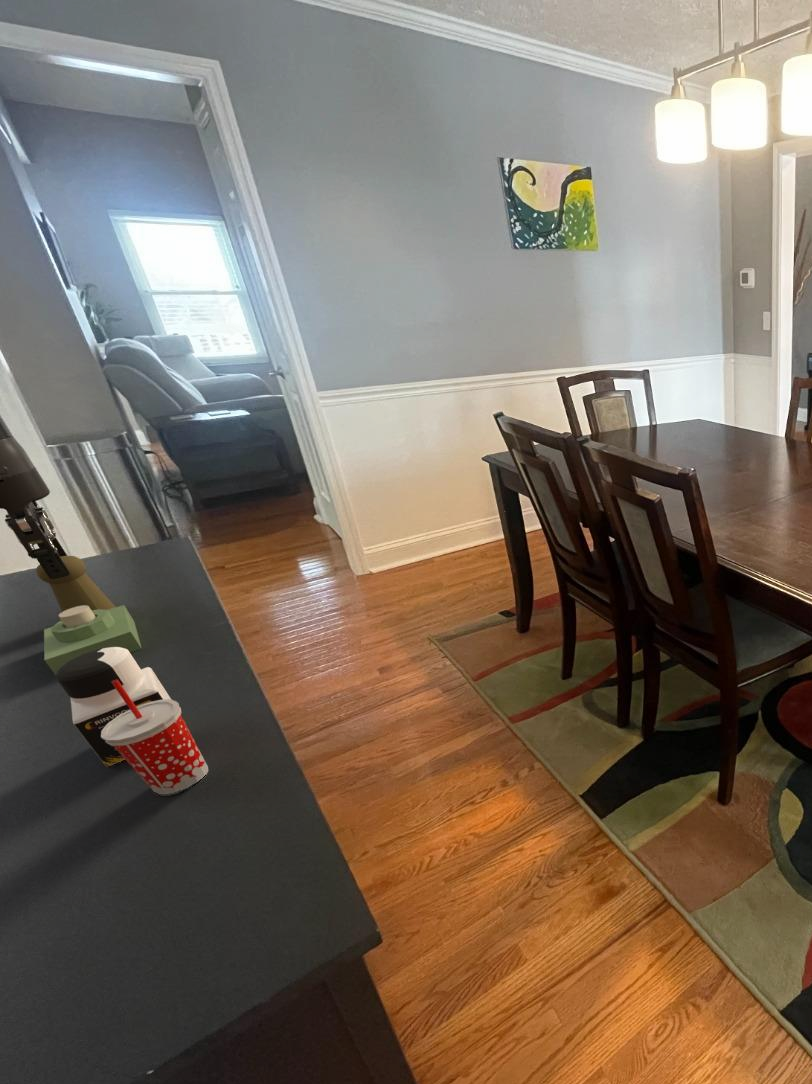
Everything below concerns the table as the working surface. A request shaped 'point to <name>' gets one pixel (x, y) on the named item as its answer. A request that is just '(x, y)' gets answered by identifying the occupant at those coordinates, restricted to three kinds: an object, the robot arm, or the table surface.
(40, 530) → the robot arm
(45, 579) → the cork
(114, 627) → the green push button box
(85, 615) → the beige button cap
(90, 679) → the medicine bottle
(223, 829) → the table surface
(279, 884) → the table surface
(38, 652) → the table surface
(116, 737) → the beverage cup
